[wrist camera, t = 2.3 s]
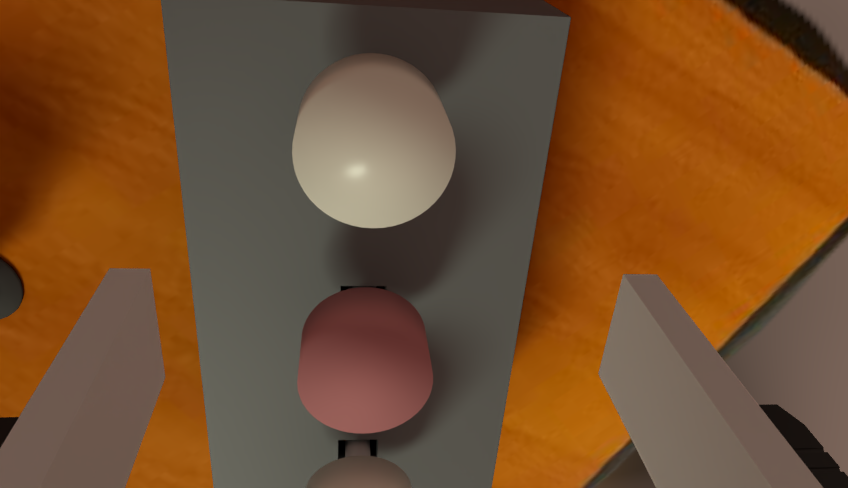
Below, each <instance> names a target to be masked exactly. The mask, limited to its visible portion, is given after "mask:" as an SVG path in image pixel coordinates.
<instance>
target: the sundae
mask: <svg viewBox="0 0 848 488" xmlns="http://www.w3.org/2000/svg"><path fill="white" fill-rule="evenodd" d="M22 298H23V288H22V284H21V281H20V279H19V277H18V275H17V274H16V273H15V271H14V270H13V269H12V267H10V266H9V265H8V264H7V263H6V262H4V261H3V260H1V259H0V319H2V318H5V317H8V316H9V315H11V314H12V313H13V312H15V311H16V310H17V309H18V308H19V306H20V304H21V302H22Z"/></svg>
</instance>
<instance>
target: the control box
mask: <svg viewBox="0 0 848 488" xmlns="http://www.w3.org/2000/svg"><path fill="white" fill-rule="evenodd" d="M161 5H162V15H163V24H164V33H165V42H166V51H167V61H168V70H169V79H170V88H171V98H172V107H173V116H174V125H175V135H176V144H177V153H178V162H179V172H180V181H181V190H182V199H183V209H184V218H185V227H186V236H187V245H188V255H189V264H190V273H191V282H192V292H193V301H194V310H195V319H196V329H197V338H198V347H199V356H200V366H201V375H202V384H203V393H204V403H205V412H206V421H207V430H208V439H209V449H210V458H211V467H212V476H213V486H214V488H306V485H307V483H308V481H309V480H310V478H311V477H312V476H313V474H314V473H315V472H316V471H318V470H319V469H320V468H321V467H323V466H325V465H326V464H328V463H330V462H332V461H335V460H337V459H341V458H344V457H345V440H370V456H374V457H379V458H382V459H385V460H388V461H390V462H392V463H394V464H396V465H397V466H399V467H400V468H401V469H402V470H403V471H404V472H405V473H406V474H407V476H408V478H409V480H410V482H411V487H412V488H491V487H492V481H493V475H494V469H495V463H496V457H497V451H498V446H499V440H500V434H501V428H502V422H503V416H504V410H505V404H506V398H507V392H508V386H509V380H510V375H511V369H512V363H513V357H514V351H515V345H516V339H517V333H518V327H519V321H520V315H521V310H522V304H523V298H524V292H525V286H526V280H527V274H528V268H529V262H530V256H531V250H532V245H533V239H534V233H535V227H536V221H537V215H538V209H539V203H540V197H541V191H542V185H543V179H544V174H545V168H546V162H547V156H548V150H549V144H550V138H551V132H552V126H553V120H554V114H555V109H556V103H557V97H558V91H559V85H560V79H561V73H562V67H563V61H564V55H565V49H566V43H567V38H568V32H569V26H570V20H571V17H570V16H568V15H566V14H565V13H563V12H561V11H560V10H558V9H557V8H555V7H553V6H552V5H550V4H548V3H547V2H545V1H544V0H161ZM363 53H378V54H386V55H390V56H394V57H396V58H399V59H401V60H404V61H406V62H407V63H409V64H411V65H413V66H414V67H415V68H417V69H418V70H419V71H421V72H422V73H423V74H424V75H425V76H426V77H427V78H428V80H429V81H430V82H431V84H432V85H433V86H434V88H435V90H436V92H437V93H438V96H439V98H440V100H441V103H442V105H443V107H444V110H445V112H446V114H447V117H448V119H449V122H450V124H451V127H452V129H453V133H454V137H455V145H456V158H455V164H454V169H453V172H452V175H451V178H450V180H449V183H448V185H447V187H446V188H445V190H444V191H443V193H442V195H441V196H440V197H439V198H438V199H437V201H436V202H435V203H434V204H433V205H432V206H431V207H430V208H429V209H427V210H426V211H425V212H423V213H422V214H420V215H419V216H417V217H415V218H413V219H412V220H409V221H407V222H405V223H402V224H399V225H395V226H391V227H385V228H362V227H357V226H352V225H349V224H346V223H342V222H340V221H338V220H336V219H334V218H332V217H330V216H329V215H327V214H326V213H324V212H323V211H322V210H320V209H319V208H318V207H317V206H316V205H315V204H314V203H313V202H312V201H311V200H310V199H309V198H308V196H307V195H306V194H305V192H304V191H303V189H302V187H301V185H300V183H299V181H298V179H297V176H296V174H295V170H294V165H293V158H292V144H293V138H294V133H295V128H296V123H297V118H298V113H299V108H300V104H301V102H302V99H303V96H304V94H305V92H306V90H307V88H308V87H309V85H310V84H311V82H312V81H313V80H314V79H315V78H316V77H317V75H318V74H319V73H320V72H322V71H323V70H324V69H325V68H327V67H328V66H330V65H331V64H333V63H334V62H336V61H338V60H341V59H343V58H345V57H349V56H352V55H357V54H363ZM341 286H385V290H388V291H391V292H393V293H395V294H398V295H400V296H401V297H403V298H405V299H406V300H407V301H408V302H410V303H411V304H412V305H413V306H414V307H415V308H416V310H417V311H418V313H419V314H420V316H421V318H422V320H423V323H424V326H425V331H426V337H427V343H428V348H429V354H430V360H431V365H432V372H433V385H432V390H431V393H430V396H429V398H428V399H427V401H426V403H425V404H424V406H423V407H422V408H421V409H420V410H419V412H418V413H417V414H415V415H414V416H413V417H412V418H411V419H409V420H407V421H406V422H404V423H403V424H401V425H399V426H397V427H394V428H391V429H389V430H385V431H381V432H375V433H365V434H361V433H349V432H344V431H340V430H337V429H334V428H331V427H329V426H327V425H325V424H323V423H321V422H320V421H318V420H317V419H316V418H315V417H313V416H312V415H311V414H310V413H309V412H308V410H307V409H306V408H305V406H304V405H303V403H302V401H301V399H300V396H299V393H298V386H297V380H298V369H299V358H300V348H301V338H302V331H303V326H304V324H305V321H306V319H307V318H308V316H309V314H310V313H311V312H312V310H313V309H314V308H315V307H316V306H317V305H318V304H319V303H320V302H322V301H323V300H325V299H326V298H328V297H329V296H331V295H333V294H335V293H338V292H340V291H341Z"/></svg>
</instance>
